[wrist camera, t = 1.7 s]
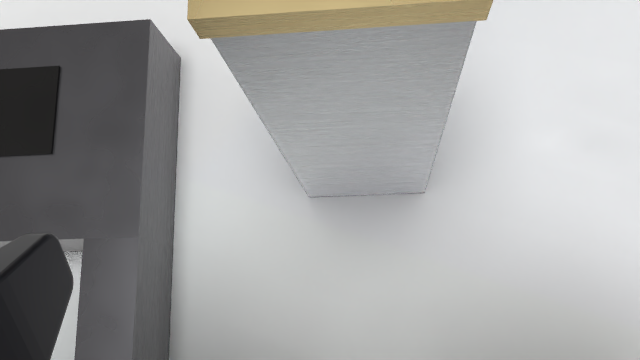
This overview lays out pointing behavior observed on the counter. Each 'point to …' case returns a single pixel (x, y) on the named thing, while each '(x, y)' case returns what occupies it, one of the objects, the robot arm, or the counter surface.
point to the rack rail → (96, 170)
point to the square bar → (347, 82)
